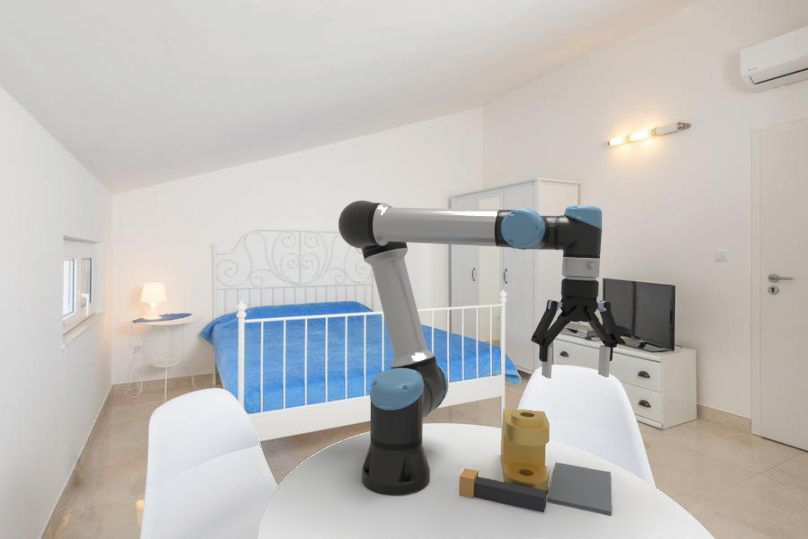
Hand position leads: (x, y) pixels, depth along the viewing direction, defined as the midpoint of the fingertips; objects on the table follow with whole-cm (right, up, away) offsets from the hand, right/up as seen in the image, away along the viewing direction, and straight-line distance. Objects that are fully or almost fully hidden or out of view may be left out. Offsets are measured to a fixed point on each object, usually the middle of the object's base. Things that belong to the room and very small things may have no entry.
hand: (575, 376), depth 99 cm
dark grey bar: (-17, -24, -5) cm, 30 cm away
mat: (+1, -24, 0) cm, 24 cm away
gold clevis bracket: (-10, -24, +5) cm, 27 cm away
